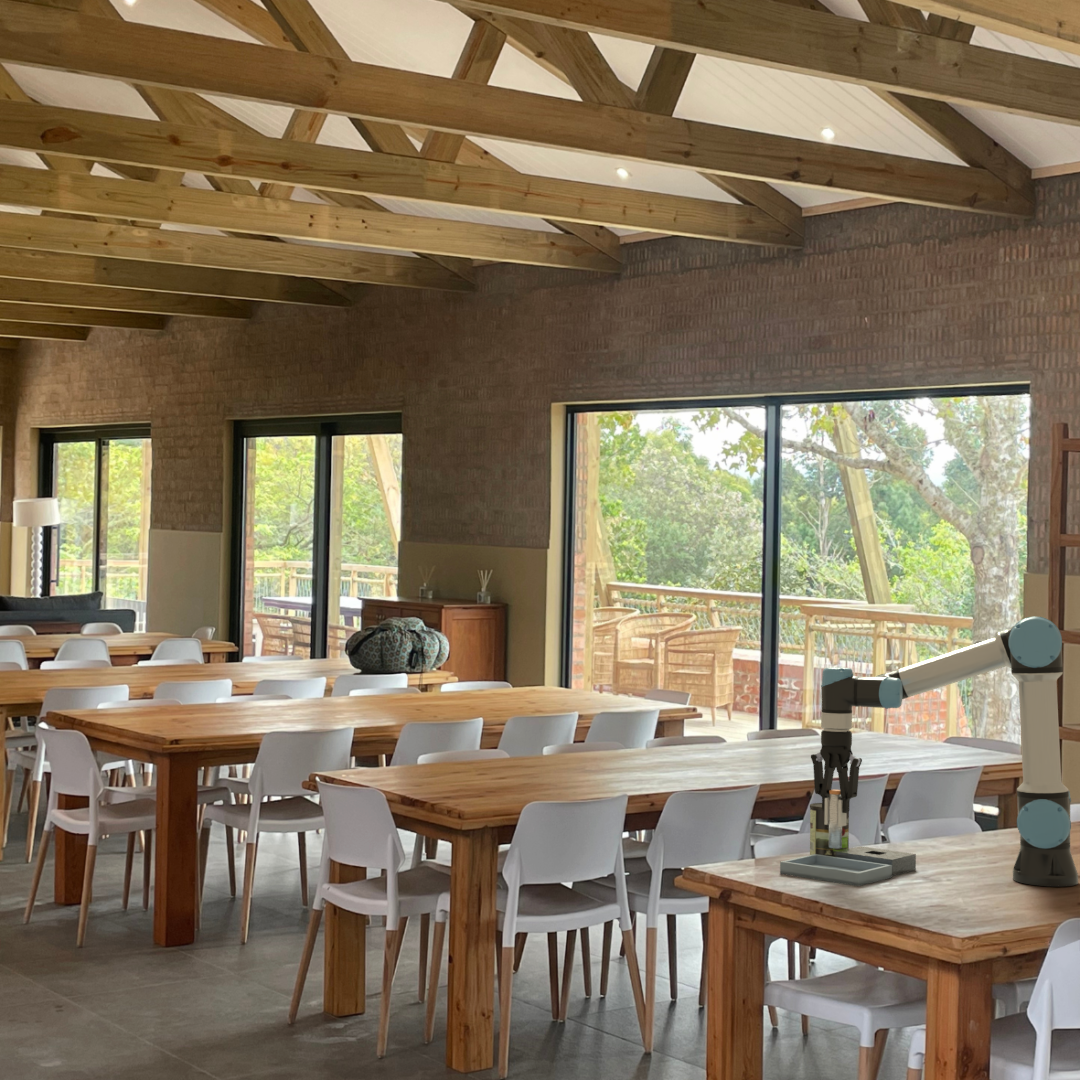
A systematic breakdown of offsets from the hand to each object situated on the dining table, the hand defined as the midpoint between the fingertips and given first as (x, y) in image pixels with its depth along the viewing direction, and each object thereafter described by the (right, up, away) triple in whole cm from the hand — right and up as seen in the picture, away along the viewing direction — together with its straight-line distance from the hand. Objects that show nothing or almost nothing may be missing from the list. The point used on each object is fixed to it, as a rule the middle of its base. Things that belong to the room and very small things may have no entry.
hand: (835, 824), depth 368 cm
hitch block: (+12, -13, +10) cm, 20 cm away
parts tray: (0, -12, -1) cm, 12 cm away
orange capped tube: (0, -6, 0) cm, 6 cm away
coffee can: (+3, -14, +24) cm, 28 cm away
